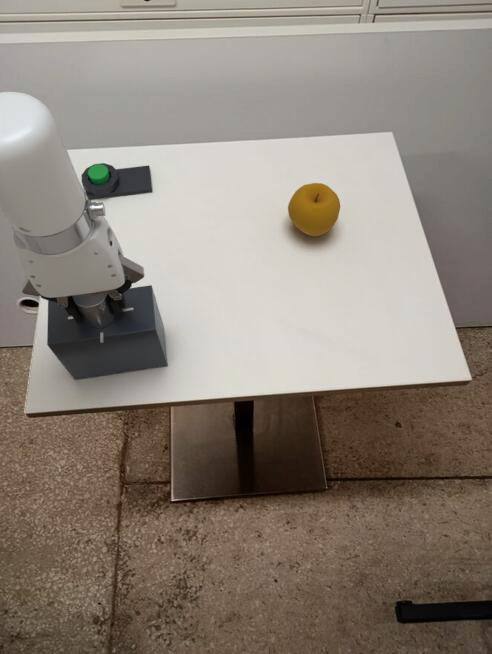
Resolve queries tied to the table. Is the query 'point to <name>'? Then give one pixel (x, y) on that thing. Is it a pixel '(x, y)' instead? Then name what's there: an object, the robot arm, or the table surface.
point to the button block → (119, 182)
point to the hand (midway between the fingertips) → (99, 310)
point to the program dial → (95, 309)
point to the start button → (98, 174)
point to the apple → (314, 209)
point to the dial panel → (110, 338)
